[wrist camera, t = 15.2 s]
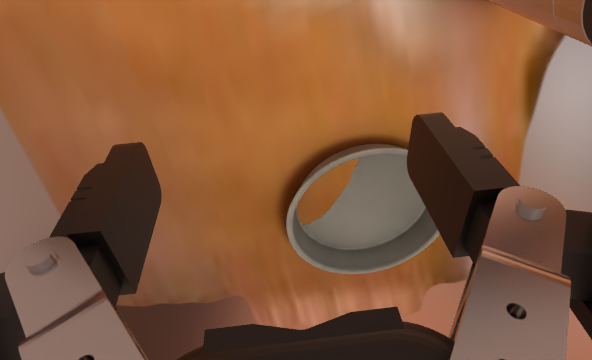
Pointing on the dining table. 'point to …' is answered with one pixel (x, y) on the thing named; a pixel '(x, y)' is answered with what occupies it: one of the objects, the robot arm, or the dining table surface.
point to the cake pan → (365, 215)
